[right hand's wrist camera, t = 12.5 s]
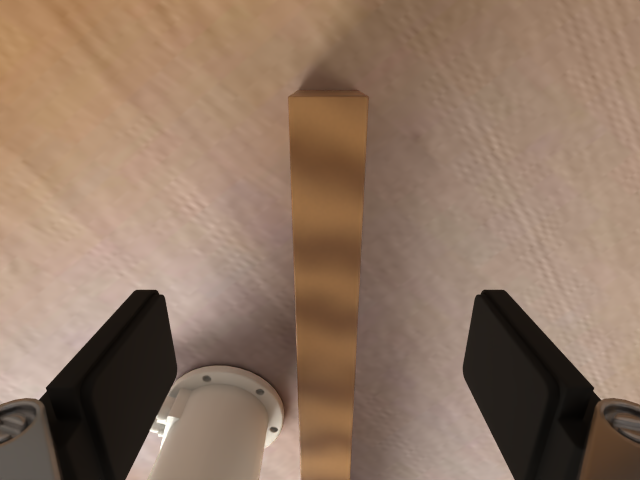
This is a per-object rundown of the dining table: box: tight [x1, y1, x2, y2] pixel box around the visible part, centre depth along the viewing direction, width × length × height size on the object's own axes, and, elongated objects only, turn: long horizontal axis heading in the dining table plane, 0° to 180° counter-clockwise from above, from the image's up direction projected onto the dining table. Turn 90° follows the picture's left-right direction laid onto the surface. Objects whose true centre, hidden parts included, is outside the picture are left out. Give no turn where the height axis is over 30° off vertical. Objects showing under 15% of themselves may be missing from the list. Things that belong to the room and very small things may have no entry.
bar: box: [288, 90, 369, 480], centre depth 38 cm, size 66×4×7 cm, turn 0°
